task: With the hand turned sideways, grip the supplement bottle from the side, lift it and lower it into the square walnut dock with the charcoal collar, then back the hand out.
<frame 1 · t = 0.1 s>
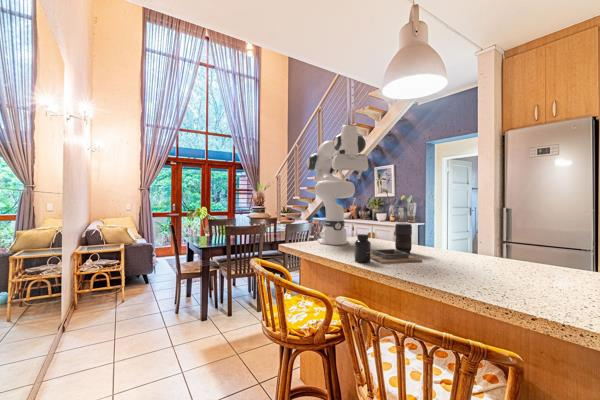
hand: (350, 178, 152), 39 cm above the countertop, tool pointing down, fingers open, 8 cm apart
collar dock: (389, 258, 133), on the countertop
camera lens: (403, 253, 146), on the countertop
supplement bottle: (362, 262, 125), on the countertop
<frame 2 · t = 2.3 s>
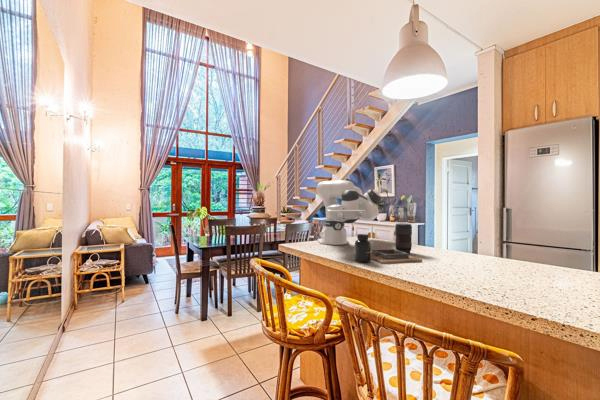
hand: (352, 214, 136), 20 cm above the countertop, tool horizontal, fingers open, 8 cm apart
nothing on the countertop moved.
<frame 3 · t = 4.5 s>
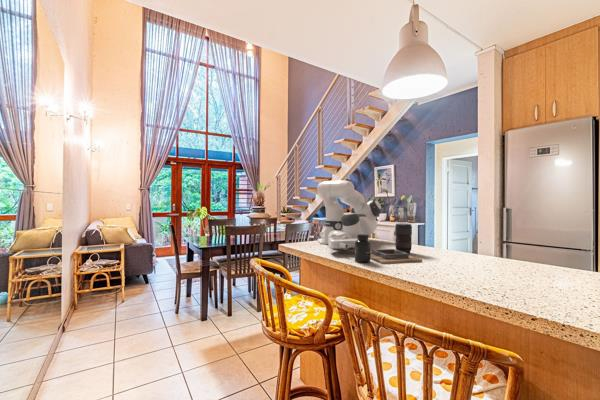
hand: (355, 245, 134), 5 cm above the countertop, tool horizontal, fingers open, 8 cm apart
nothing on the countertop moved.
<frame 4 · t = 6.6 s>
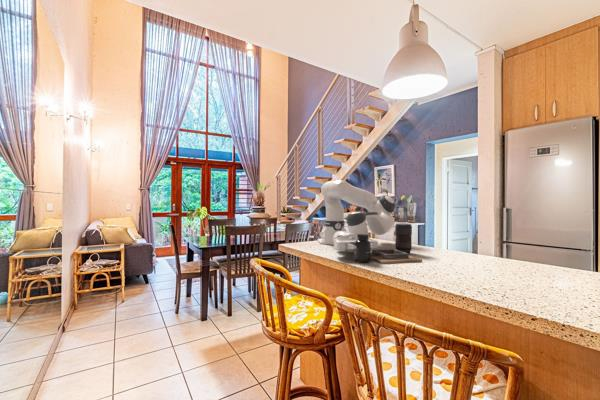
hand: (363, 247, 124), 7 cm above the countertop, tool horizontal, fingers closed on supplement bottle, 7 cm apart
supplement bottle: (362, 261, 125), on the countertop, touching gripper
everything else where it was.
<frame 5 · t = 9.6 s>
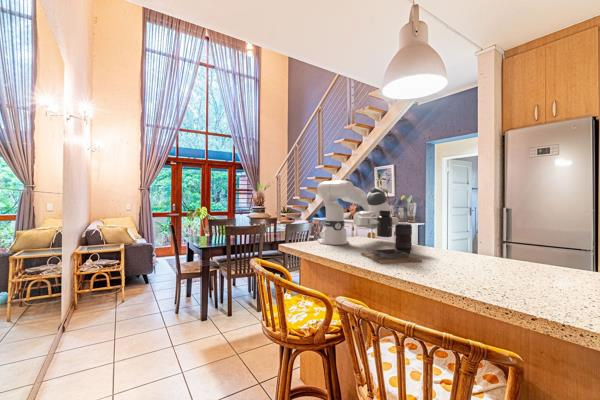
hand: (385, 222, 129), 17 cm above the countertop, tool horizontal, fingers closed on supplement bottle, 7 cm apart
supplement bottle: (384, 236, 130), point 10 cm above the countertop, touching gripper
everything else where it was.
when the fingers open (9 cm above the countertop, at t = 12.5 s): supplement bottle drops 1 cm, resting on collar dock.
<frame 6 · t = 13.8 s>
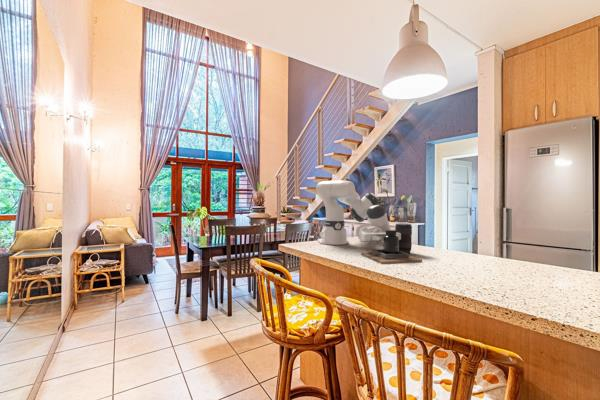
hand: (389, 238, 133), 9 cm above the countertop, tool horizontal, fingers open, 8 cm apart
supplement bottle: (391, 256, 133), point 1 cm above the countertop, touching collar dock
everything else where it was.
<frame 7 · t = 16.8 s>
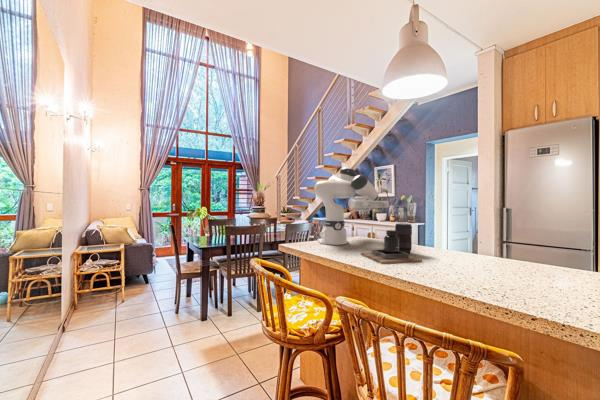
hand: (377, 204, 144), 25 cm above the countertop, tool horizontal, fingers open, 8 cm apart
nothing on the countertop moved.
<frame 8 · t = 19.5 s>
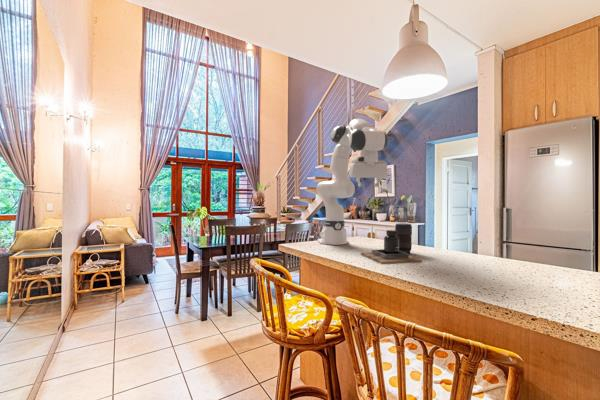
hand: (368, 186, 145), 34 cm above the countertop, tool pointing down, fingers open, 8 cm apart
nothing on the countertop moved.
at the end: supplement bottle 0.9 cm off-centre on the collar dock, point 0.8 cm above the collar dock's base; supplement bottle tilted 0°; the gripper is holding nothing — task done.
